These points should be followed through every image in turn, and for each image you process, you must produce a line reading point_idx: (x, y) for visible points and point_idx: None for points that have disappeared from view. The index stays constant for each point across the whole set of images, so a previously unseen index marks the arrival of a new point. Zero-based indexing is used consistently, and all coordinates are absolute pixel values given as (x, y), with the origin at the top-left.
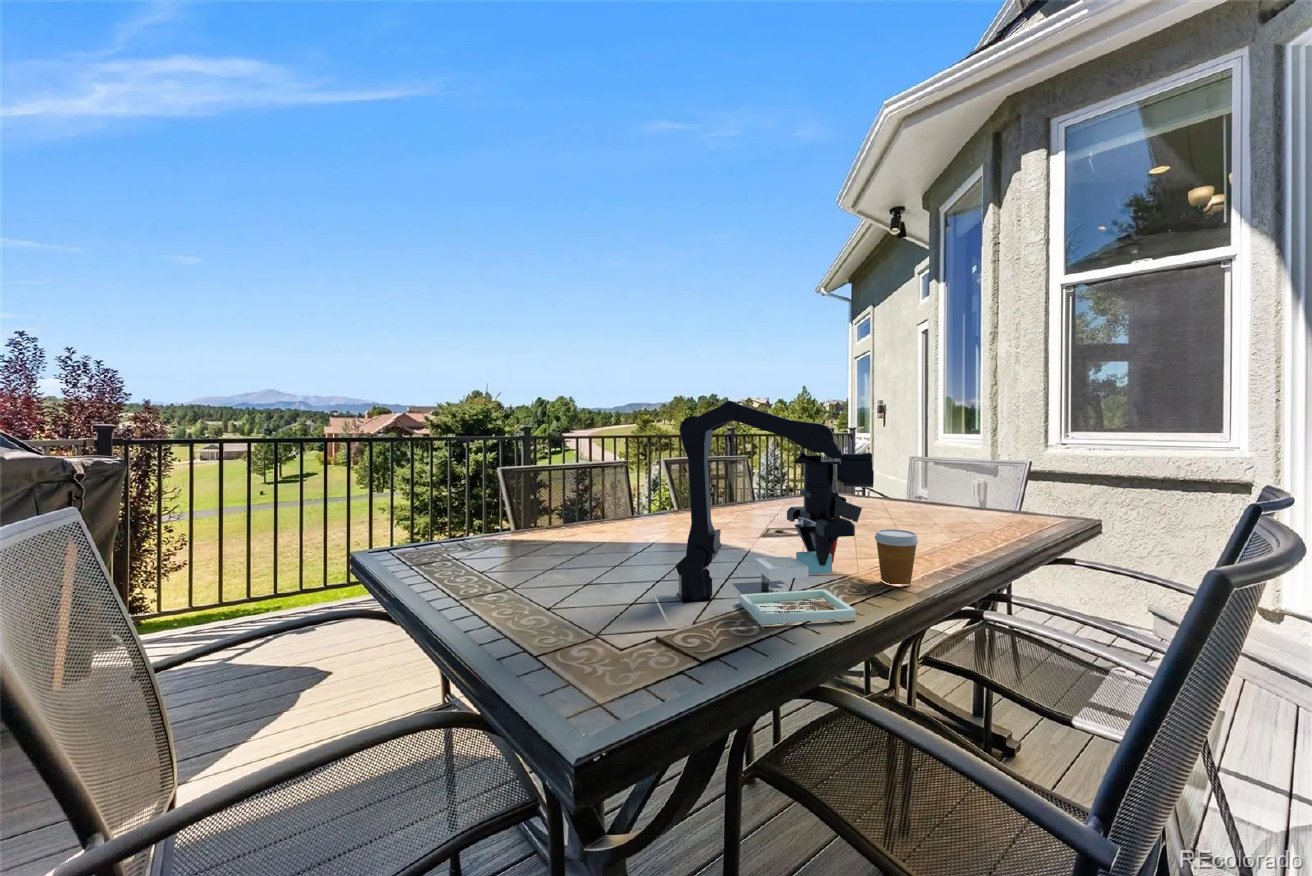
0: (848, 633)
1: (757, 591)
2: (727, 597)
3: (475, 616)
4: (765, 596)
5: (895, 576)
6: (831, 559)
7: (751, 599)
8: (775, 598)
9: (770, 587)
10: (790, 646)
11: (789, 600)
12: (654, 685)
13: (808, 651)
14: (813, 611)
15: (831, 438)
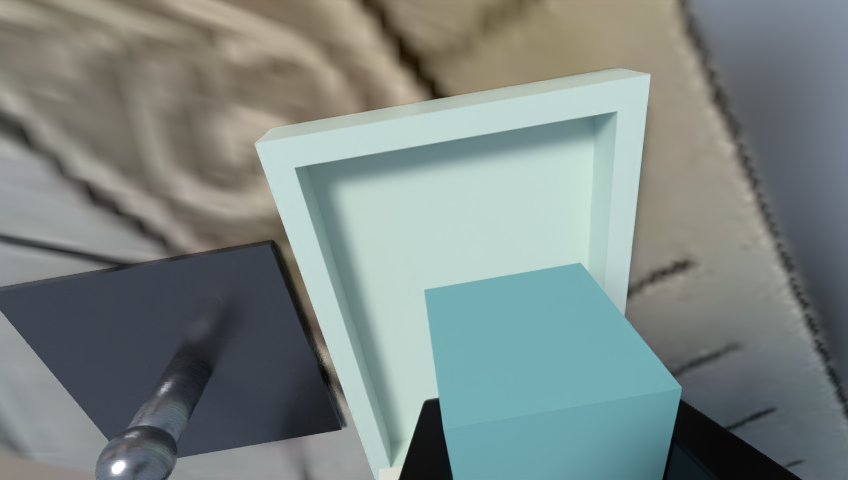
0: (729, 155)
1: (223, 399)
2: (295, 471)
3: None
4: (374, 409)
5: None
6: (647, 349)
7: (387, 440)
8: (364, 369)
9: (144, 351)
10: (744, 357)
11: (350, 310)
12: None
13: (798, 321)
14: (611, 286)
15: None
